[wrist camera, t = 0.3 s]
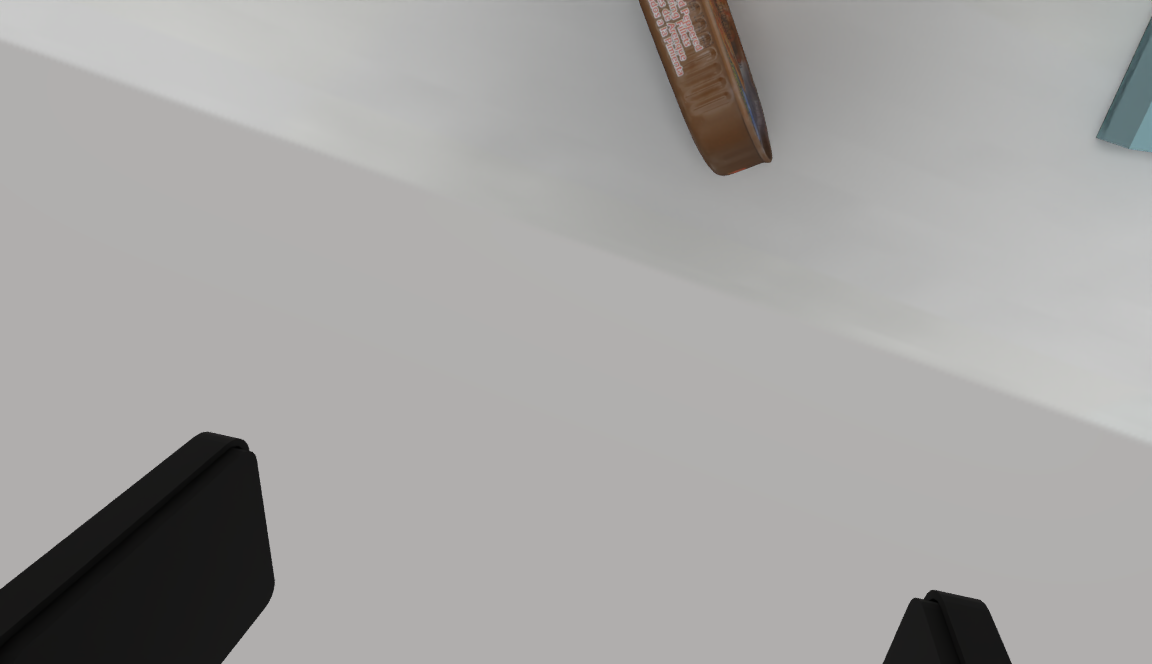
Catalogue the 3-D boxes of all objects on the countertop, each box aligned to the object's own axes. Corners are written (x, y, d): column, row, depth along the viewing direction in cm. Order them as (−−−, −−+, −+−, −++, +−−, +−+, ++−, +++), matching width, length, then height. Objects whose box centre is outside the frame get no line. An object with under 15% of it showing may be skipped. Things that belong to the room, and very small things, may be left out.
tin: (773, 142, 36) (785, 176, 28) (716, 164, 37) (712, 203, 29) (670, -169, 31) (651, -227, 23) (608, -132, 32) (570, -176, 24)
